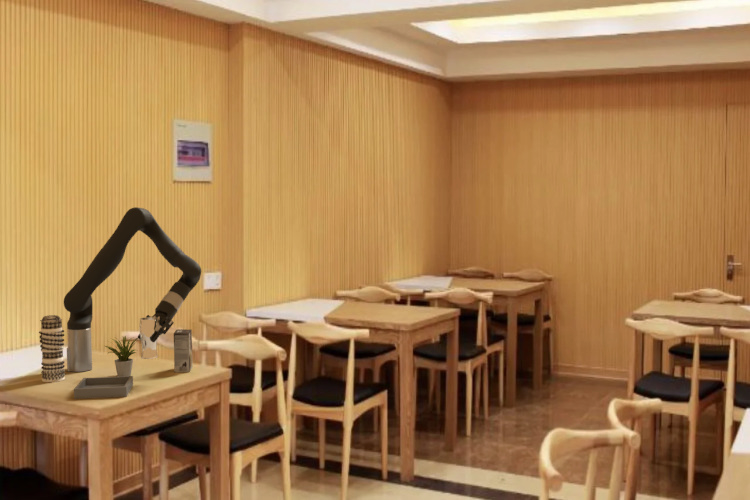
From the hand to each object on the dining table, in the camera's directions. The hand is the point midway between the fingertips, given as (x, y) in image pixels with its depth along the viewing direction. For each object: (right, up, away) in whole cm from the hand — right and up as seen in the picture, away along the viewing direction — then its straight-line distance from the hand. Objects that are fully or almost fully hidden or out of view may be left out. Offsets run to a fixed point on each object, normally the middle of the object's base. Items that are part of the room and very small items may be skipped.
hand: (145, 339), depth 322 cm
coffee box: (+9, -15, +25) cm, 30 cm away
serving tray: (-12, -18, -12) cm, 24 cm away
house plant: (-12, -16, +17) cm, 26 cm away
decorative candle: (-38, -17, +8) cm, 43 cm away
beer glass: (+1, -7, +2) cm, 7 cm away
